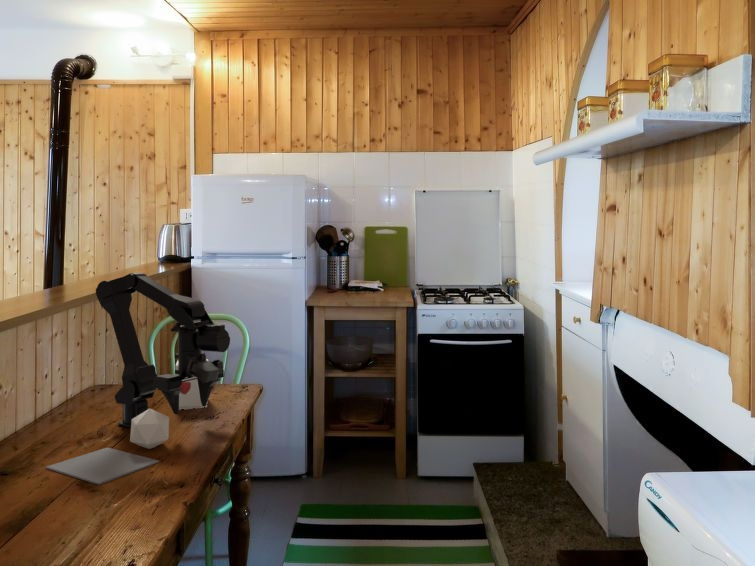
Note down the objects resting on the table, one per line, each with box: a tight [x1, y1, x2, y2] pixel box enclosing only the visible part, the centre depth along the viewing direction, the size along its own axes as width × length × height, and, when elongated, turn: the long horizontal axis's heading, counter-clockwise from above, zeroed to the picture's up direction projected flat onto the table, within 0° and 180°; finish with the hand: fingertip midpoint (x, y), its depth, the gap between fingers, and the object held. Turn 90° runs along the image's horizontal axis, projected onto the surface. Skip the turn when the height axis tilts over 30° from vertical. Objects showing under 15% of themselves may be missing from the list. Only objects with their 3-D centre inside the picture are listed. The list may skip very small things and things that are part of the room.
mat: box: [45, 447, 160, 486], centre depth 131 cm, size 18×15×1 cm
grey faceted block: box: [129, 408, 170, 450], centre depth 142 cm, size 8×9×10 cm
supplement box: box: [174, 358, 209, 411], centre depth 175 cm, size 9×9×15 cm
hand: (190, 410), depth 153 cm, fingers open, 9 cm apart
